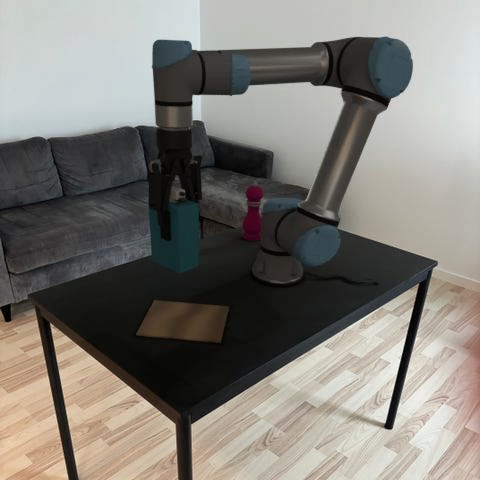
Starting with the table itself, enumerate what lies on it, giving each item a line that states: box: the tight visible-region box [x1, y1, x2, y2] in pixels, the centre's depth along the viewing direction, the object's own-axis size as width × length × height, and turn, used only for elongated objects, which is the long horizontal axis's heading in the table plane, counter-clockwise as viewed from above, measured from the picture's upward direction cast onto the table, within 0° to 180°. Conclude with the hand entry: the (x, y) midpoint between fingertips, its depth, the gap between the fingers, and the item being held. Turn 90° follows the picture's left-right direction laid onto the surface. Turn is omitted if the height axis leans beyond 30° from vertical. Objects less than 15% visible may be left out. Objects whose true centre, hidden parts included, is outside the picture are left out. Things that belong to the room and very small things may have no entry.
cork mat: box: [135, 299, 230, 344], centre depth 119 cm, size 20×17×1 cm
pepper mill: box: [242, 181, 264, 242], centre depth 165 cm, size 7×7×20 cm
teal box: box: [147, 185, 200, 274], centre depth 109 cm, size 18×6×10 cm
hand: (177, 235), depth 109 cm, fingers closed on teal box, 6 cm apart
